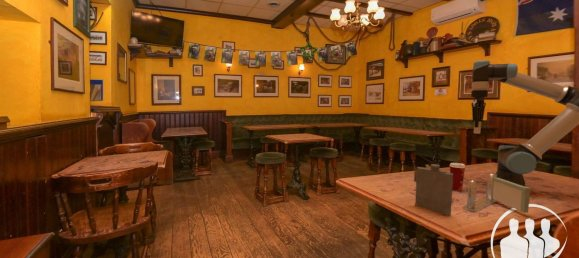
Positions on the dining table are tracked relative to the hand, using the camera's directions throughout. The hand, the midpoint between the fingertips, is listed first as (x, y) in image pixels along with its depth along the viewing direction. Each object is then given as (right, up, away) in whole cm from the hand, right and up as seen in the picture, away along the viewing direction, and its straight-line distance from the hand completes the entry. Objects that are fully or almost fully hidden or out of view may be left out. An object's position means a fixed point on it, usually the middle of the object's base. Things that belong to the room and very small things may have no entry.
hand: (476, 133), depth 161 cm
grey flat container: (-22, -30, +17) cm, 41 cm away
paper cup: (-12, -31, -1) cm, 33 cm away
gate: (-5, -32, -30) cm, 44 cm away
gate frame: (-14, -33, -25) cm, 44 cm away
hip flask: (-40, -33, -32) cm, 61 cm away
